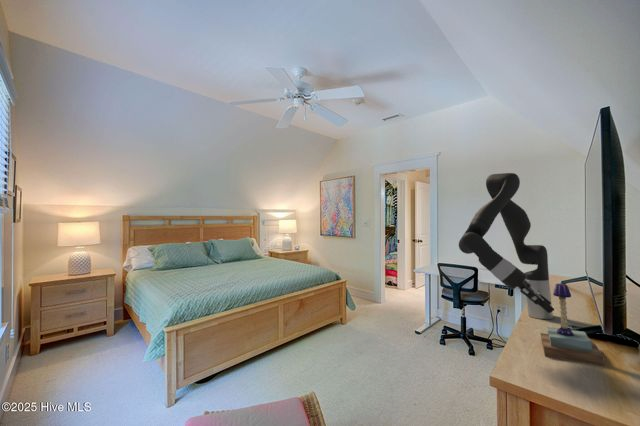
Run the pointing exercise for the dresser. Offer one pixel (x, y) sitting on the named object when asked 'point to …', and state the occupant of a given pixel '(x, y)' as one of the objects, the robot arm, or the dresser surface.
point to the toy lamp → (563, 308)
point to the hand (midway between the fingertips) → (550, 308)
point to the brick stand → (571, 347)
